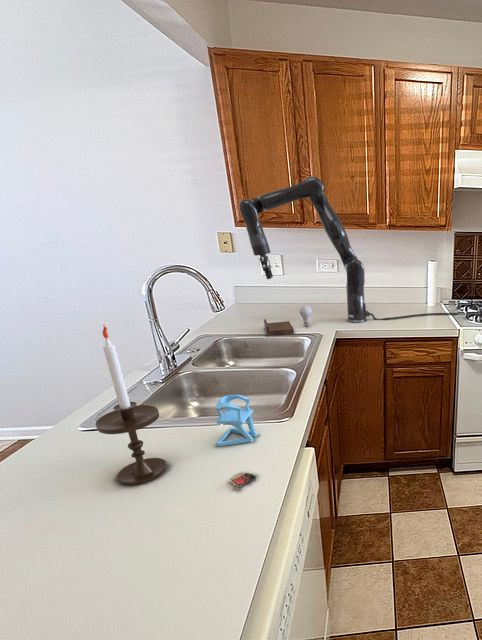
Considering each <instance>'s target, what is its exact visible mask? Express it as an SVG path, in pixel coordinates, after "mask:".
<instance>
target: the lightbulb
mask: <svg viewBox="0 0 482 640" xmlns="http://www.w3.org/2000/svg"><path fill="white" fill-rule="evenodd" d="M312 309H313V308H311V307H310V306H309V305H302V306H301V307H299V314H300V316H301V318H302V321H303V325H304V326H305V327H306V328H307V327H309V326H310V321H311V316H312V314H313V310H312Z"/></svg>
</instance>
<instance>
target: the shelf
mask: <svg viewBox="0 0 482 640" xmlns="http://www.w3.org/2000/svg"><path fill="white" fill-rule="evenodd" d="M263 326H264V330H265V333H266V336H267V337H274V336H275V337H276V336H285V335H294V334H295V329H294V327H293V325H292V323H291V321H289V320H287V321H286V320H285V321H276V322H268V321H267V319H265V318H264V319H263Z"/></svg>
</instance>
